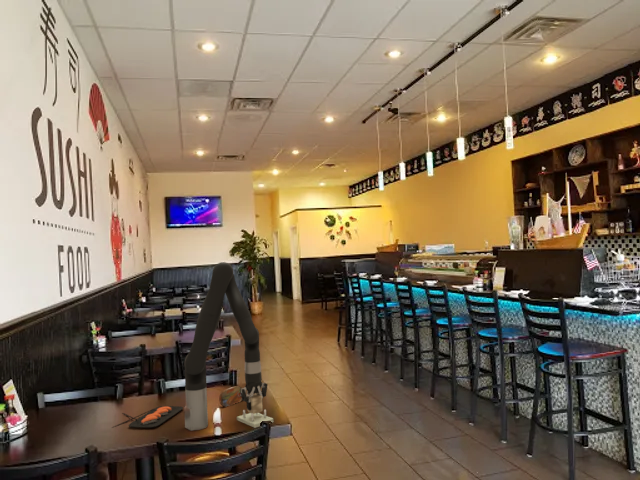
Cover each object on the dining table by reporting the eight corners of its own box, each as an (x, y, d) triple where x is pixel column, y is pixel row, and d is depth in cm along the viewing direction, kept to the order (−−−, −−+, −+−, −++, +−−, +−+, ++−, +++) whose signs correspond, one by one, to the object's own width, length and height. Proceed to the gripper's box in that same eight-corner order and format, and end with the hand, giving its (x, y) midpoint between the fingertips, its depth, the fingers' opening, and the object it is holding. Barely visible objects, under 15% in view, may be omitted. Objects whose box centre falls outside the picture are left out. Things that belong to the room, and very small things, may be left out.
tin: (222, 408, 249) (222, 391, 249) (218, 407, 250) (217, 390, 251) (244, 400, 260) (243, 384, 261) (240, 399, 262) (239, 383, 263)
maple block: (253, 414, 225) (252, 398, 225) (247, 411, 228) (246, 396, 229) (262, 411, 228) (261, 395, 228) (256, 409, 232) (255, 393, 232)
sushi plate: (155, 431, 222) (155, 422, 222) (95, 429, 228) (94, 421, 228) (185, 410, 250) (185, 402, 250) (131, 409, 256) (131, 401, 256)
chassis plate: (254, 427, 219) (254, 416, 219) (236, 420, 230) (236, 409, 231) (273, 422, 225) (273, 410, 226) (255, 414, 237) (254, 404, 237)
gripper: (243, 375, 221) (245, 414, 221) (270, 369, 230) (272, 406, 230) (235, 372, 227) (236, 410, 226) (261, 366, 236) (263, 403, 236)
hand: (254, 408), depth 228 cm, fingers closed on maple block, 5 cm apart
